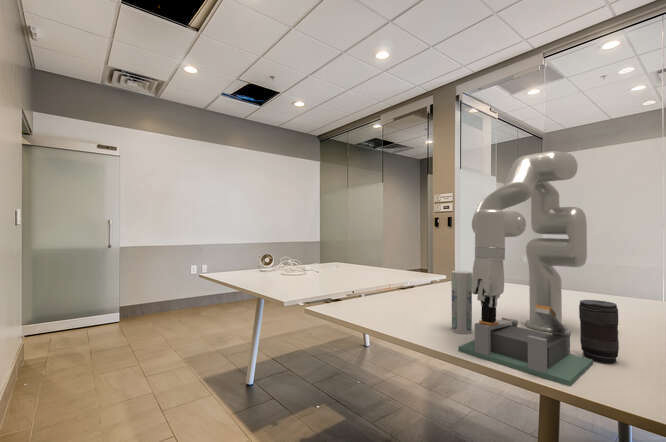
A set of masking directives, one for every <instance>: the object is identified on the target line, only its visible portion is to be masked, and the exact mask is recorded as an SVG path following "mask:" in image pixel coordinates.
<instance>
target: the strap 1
mask: <svg viewBox="0 0 666 442" xmlns="http://www.w3.org/2000/svg"><path fill="white" fill-rule="evenodd" d="M478 323H479V324H483V325H488V326H490V328H491V330H493V329H497V328H502V327H506V326H511V325H513V321H508V320H504V319H502V318H500V319H496V322H488V321H483V320H482V319H481V320H480V319H479V320H478Z"/></svg>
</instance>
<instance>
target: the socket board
mask: <svg viewBox="0 0 666 442" xmlns="http://www.w3.org/2000/svg"><path fill="white" fill-rule="evenodd" d="M501 319H504V320H508V321H513V325H511V326H506V327H502V328H497V329H493V330H491V328H490V326H488V325H483V324H479V322H476V323H474V339H473V340H471V341H468V342H466V343H465V344H462V345H459V346H458V347H457V349H458V352H461V353H463V354H466V355H470V356H473V357H476V358H480V359H483V360H486V361H489V362H492V363H495V364H499V365H501V366H505V367H508V368H510V369H514V370H517V371H520V372H523V373H527V374H529V375H533V376H536V377H538V378H543V379H545V380H549V381H553V382H556V383H559V384H561V385H564V386H568V387H571V386H572V385H573V384H574V383H575V382H576V381H578V379H579V378H580V377H581V376H583V374H585V373H586V372H587V371H588V370H589V369H590V368H591V367H592V366H593V365H594V361H593V360H592V359H588V358H586V357H584V356H579V355H575V354H572V353H571V331H569V330H567V331H566V334H562V333H557V332H553V331H552V330H551V332H550V333H548V332H544V331H539V330H535V329H533V330H532V329H529V328H523V327H518V320H516V319H513V318H512V319H511V318H507V317H502V318H501Z"/></svg>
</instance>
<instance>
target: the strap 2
mask: <svg viewBox="0 0 666 442" xmlns="http://www.w3.org/2000/svg"><path fill="white" fill-rule="evenodd" d="M535 312H536V313H537V315H538V316H539V317H540V318H541V319H542V320H543V321H544V322H545V324H546V325H547V326H548V327H549V328H550V329H551V330H552V331H553V332H557V333H562V334H566V330H565V328H564V327H563V326H562V325H561V324H560V322H559V321H558V320H557V319H556V313H555V312H554V311H553V309H552V308H551V307H547V306H541V305H536V306H535Z"/></svg>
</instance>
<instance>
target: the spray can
mask: <svg viewBox="0 0 666 442" xmlns="http://www.w3.org/2000/svg"><path fill="white" fill-rule="evenodd" d="M450 273H451V275H450V276H451V282H450V283H451V330H452V332H453V333H456V334H462V335H469V334H471V333H472V331H473V327H472V326H473V325H472V324H473V319H472V318H473V293H472V290H471V289H472V273H473V271H469V270H451V272H450Z"/></svg>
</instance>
